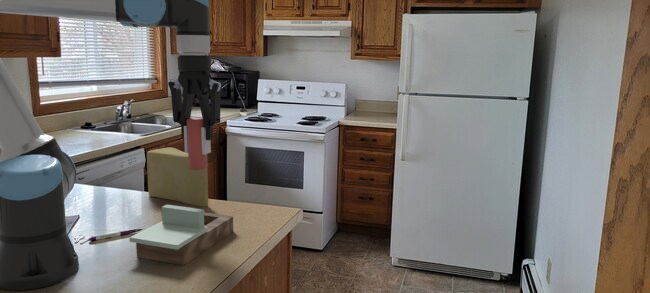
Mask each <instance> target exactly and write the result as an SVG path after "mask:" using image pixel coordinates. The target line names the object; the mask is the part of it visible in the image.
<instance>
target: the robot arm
mask: <svg viewBox="0 0 650 293" xmlns="http://www.w3.org/2000/svg"><path fill="white" fill-rule="evenodd" d="M209 3H210V2H209V0H0V13H1V14H11V15H12V14H13V15H23V16H26V15H27V16H35V17H36V16H37V17H48V18H49V17H51V18H64V19H72V20H73V19H74V20H75V19H76V20H77V19H78V20H87V21H88V20H89V21H101V22H114V23H119V24H121V25H122V26H124V27H128V28H129V27H130V28H175V31H176V32H175V33H176V37H175V38H176V52H177V53H179V55H178V56H177V57H176V58H177V70H178V73H179V74H178V77H177V79H175V80H170V81H168V83H167V84H168V87H169V90H170V96H171V107H172V108H171V109H172V120H173V122H174V123H175V124H176V123H177V124H179V125H180V132H181V135H180V136H181V139H183V140H184V152H185V153H188V137H187V119H189V118H192V117H191V116H192V110H193V104H194V103H193V102H194V98H195V97H196V99H198V104H199V107H200V113H201V118H203V122H204V125H202V126H203V127H201V137H202V154H207V155H208V154H211V153H212V149H211V147H212V145H211V143H212V142H211V141H212V140H213V139H214V126H216V125H218V124H220V123H221V91H222V89H223V86H224V85H223V83H222V82H221V81H220V82H217V81H216V80H214V79H213V77H212V75H211V71H212V64H211V63H212V60H211V59H212V57H211V56H210V55H209V53H210V52H211V34H210V30H211V29H210V5H209ZM181 88H182V89H181ZM209 89H210V94H209ZM209 97H210V100H209ZM0 150H1V153H0V289H1V290H4V291H28V290H35V289H36V290H37V289H40V288H45V287H49V286H53V285H55V284H58V283H60V282H63V281H65V280H68V279H70V277H72V276H73V275H75V274H76V273H77V271H78V270H79V266H80V265H79V256H78V253H77V252H76V250H75V247H74V245H73V243H72V241H71V239H70V237H69V234H68V232H67V220H66V206H65V200H66V198H67V196H68V195H69V194H70V193H71V191H72V190H73V188H74V186H75V184H76V180H77V168H76V165H75V163H74V160H73V159H72V158H71V156H70V155H69V154H67V152H65V151H63V150H62V148H61V146H60V145H59V143H58V140H56V137H55V136H54V135H50V134H47V133H45V132H44V131H43V130H42V129H41V127H40V125H39V123H38V122H37V119H36V118H35V116H34V114H33V113H32V110H31V109H30V107H29V106H28V104H27V102H26V100H25V99H24V96H23V95H22V94H21V92H20V89H19V88H18V86H17V84H16V83H15V81H14V79H13V77H12V76H11V74H10V71H9V70H8V69H7V67H6V64H5V63H4V61H3V60H2V58H1V57H0Z"/></svg>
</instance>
